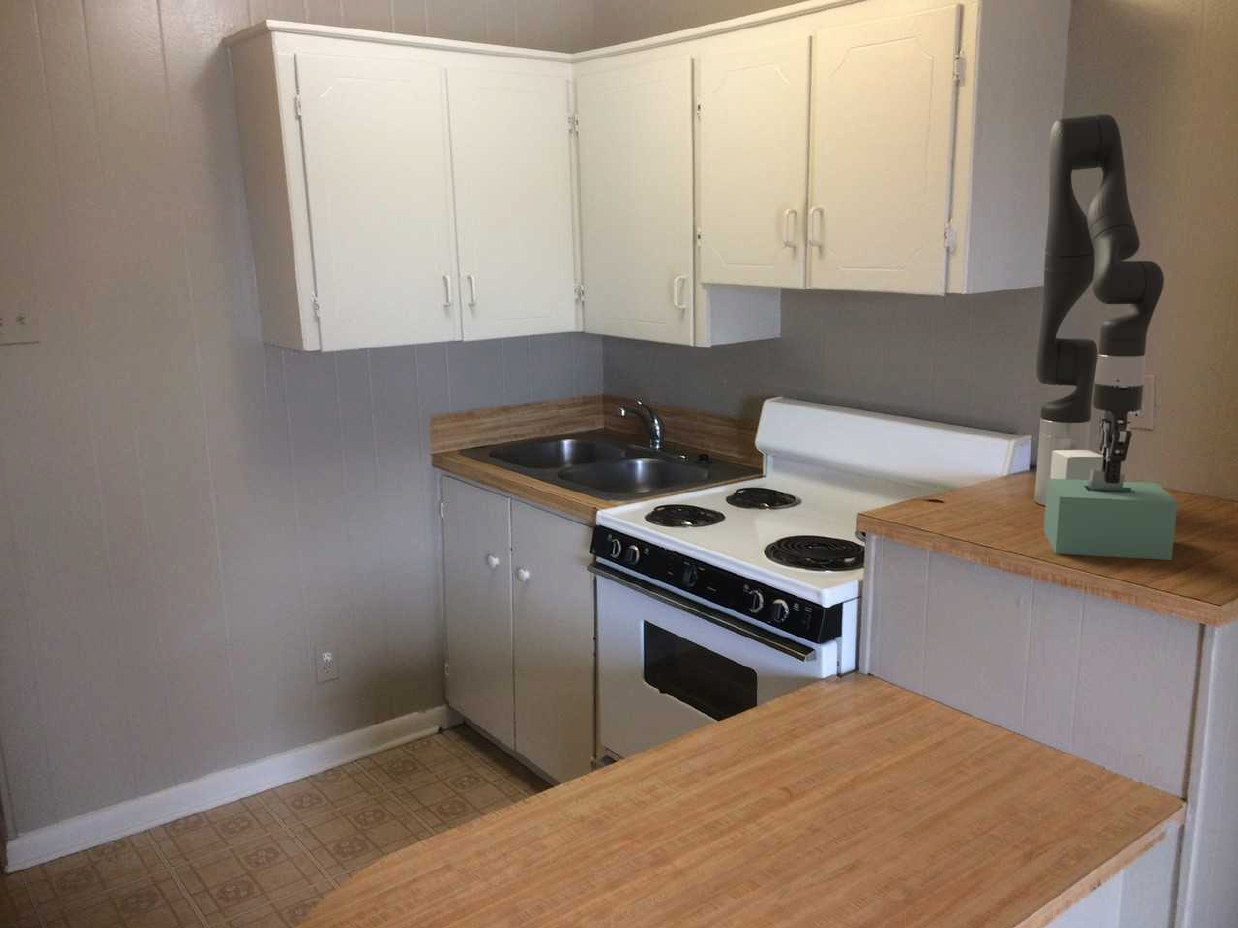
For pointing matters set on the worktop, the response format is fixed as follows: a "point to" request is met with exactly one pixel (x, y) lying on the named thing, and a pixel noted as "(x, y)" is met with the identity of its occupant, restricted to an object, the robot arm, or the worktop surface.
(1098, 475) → the block
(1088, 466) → the supplement box
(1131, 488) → the money box
